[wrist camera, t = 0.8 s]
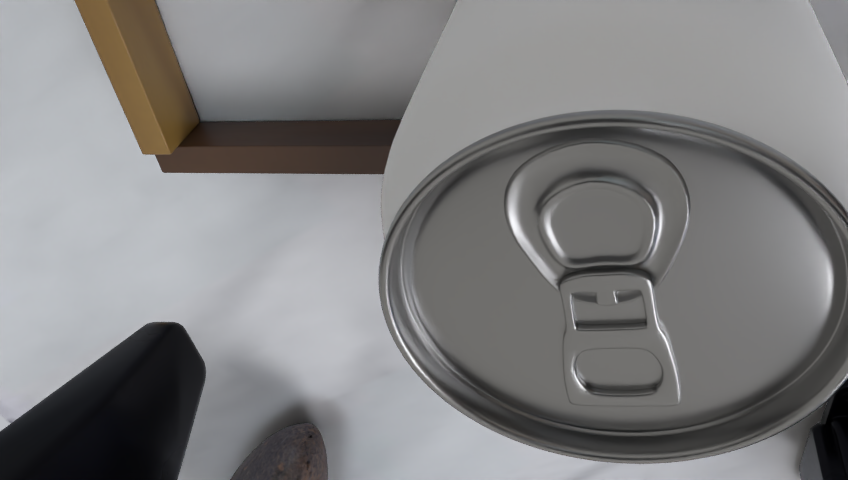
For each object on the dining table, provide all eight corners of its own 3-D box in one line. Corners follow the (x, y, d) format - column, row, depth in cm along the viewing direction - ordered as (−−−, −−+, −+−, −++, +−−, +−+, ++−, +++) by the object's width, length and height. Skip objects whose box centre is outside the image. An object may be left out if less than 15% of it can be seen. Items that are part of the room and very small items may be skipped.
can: (769, -220, 15) (982, 15, 6) (766, 71, 18) (892, 493, 9) (462, -140, 17) (262, 121, 8) (516, 106, 20) (422, 474, 11)
